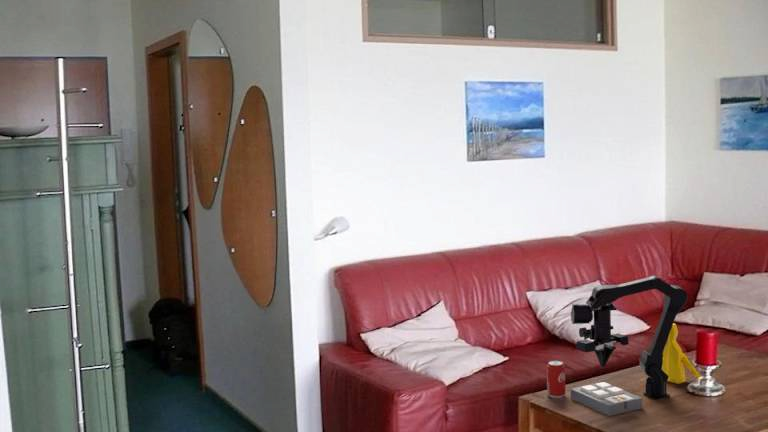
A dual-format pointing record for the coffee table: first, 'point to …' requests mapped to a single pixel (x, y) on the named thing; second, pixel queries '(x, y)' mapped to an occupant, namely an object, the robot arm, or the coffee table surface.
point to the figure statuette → (675, 360)
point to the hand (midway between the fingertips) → (602, 366)
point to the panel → (608, 401)
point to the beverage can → (555, 379)
